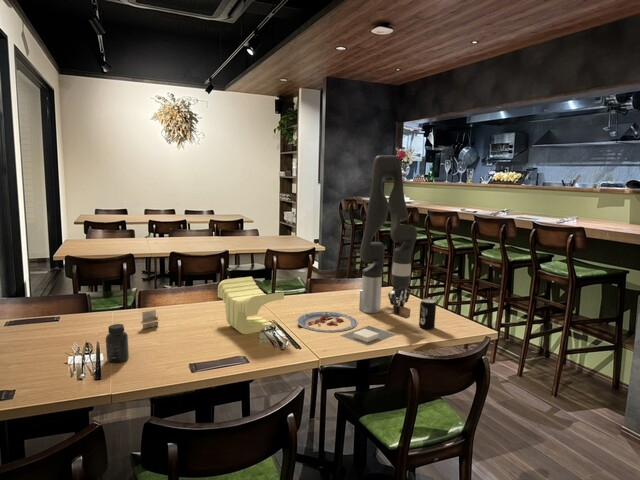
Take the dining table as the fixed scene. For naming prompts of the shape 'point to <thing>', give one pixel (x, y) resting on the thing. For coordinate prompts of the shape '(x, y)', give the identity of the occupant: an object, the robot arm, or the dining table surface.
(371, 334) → the tile
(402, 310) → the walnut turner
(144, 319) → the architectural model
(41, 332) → the dining table surface
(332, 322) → the ceramic plate
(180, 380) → the dining table surface
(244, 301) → the slatted curved stool
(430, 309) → the beverage can
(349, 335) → the slate board
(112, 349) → the supplement bottle
